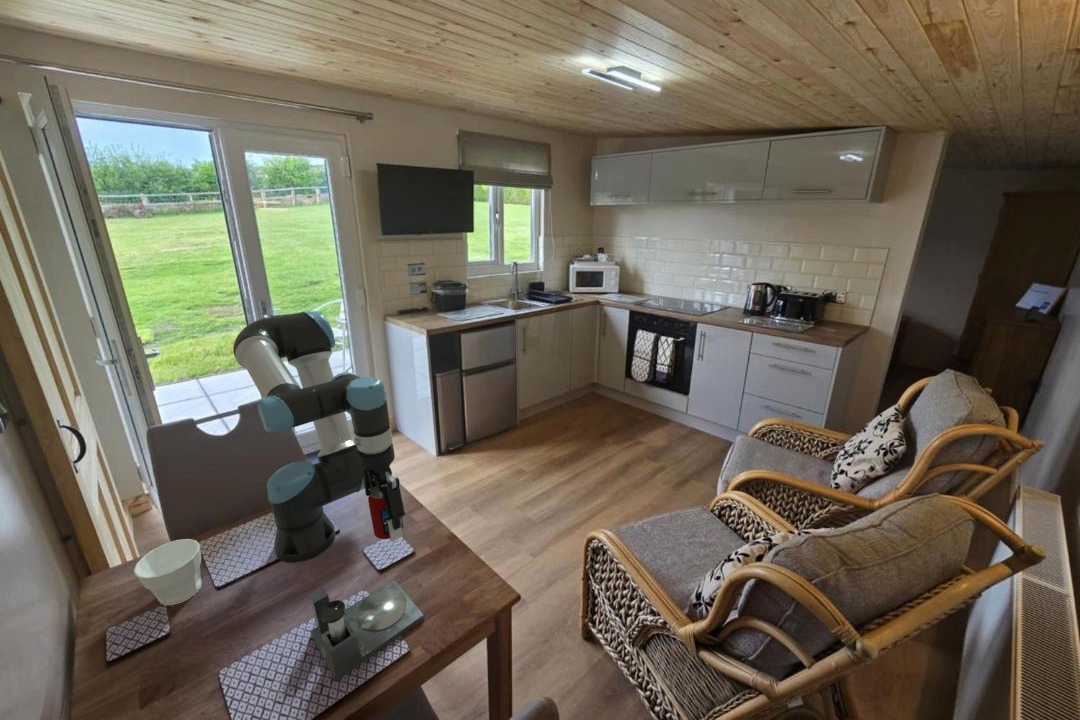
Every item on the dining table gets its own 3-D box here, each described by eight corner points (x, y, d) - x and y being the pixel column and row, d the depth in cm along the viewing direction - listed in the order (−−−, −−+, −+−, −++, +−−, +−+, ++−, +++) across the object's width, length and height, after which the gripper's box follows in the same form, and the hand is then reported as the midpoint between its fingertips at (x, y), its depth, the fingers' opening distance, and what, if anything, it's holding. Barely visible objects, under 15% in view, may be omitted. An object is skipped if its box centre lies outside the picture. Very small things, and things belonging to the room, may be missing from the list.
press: (310, 634, 100) (301, 598, 96) (394, 583, 113) (388, 550, 109) (335, 681, 90) (326, 644, 86) (424, 619, 103) (419, 584, 99)
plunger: (325, 642, 92) (317, 609, 89) (346, 628, 95) (339, 596, 92) (333, 657, 89) (325, 623, 86) (355, 642, 92) (348, 609, 89)
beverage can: (396, 543, 104) (389, 500, 100) (369, 540, 105) (361, 497, 101) (408, 523, 110) (402, 482, 106) (383, 521, 111) (376, 479, 107)
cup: (222, 582, 114) (210, 547, 110) (167, 622, 103) (152, 585, 99) (193, 566, 118) (181, 532, 115) (137, 603, 108) (121, 567, 104)
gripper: (339, 437, 103) (355, 519, 111) (380, 470, 90) (395, 560, 98) (370, 425, 108) (383, 505, 116) (413, 455, 95) (425, 542, 103)
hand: (388, 530), depth 107 cm, fingers closed on beverage can, 7 cm apart
